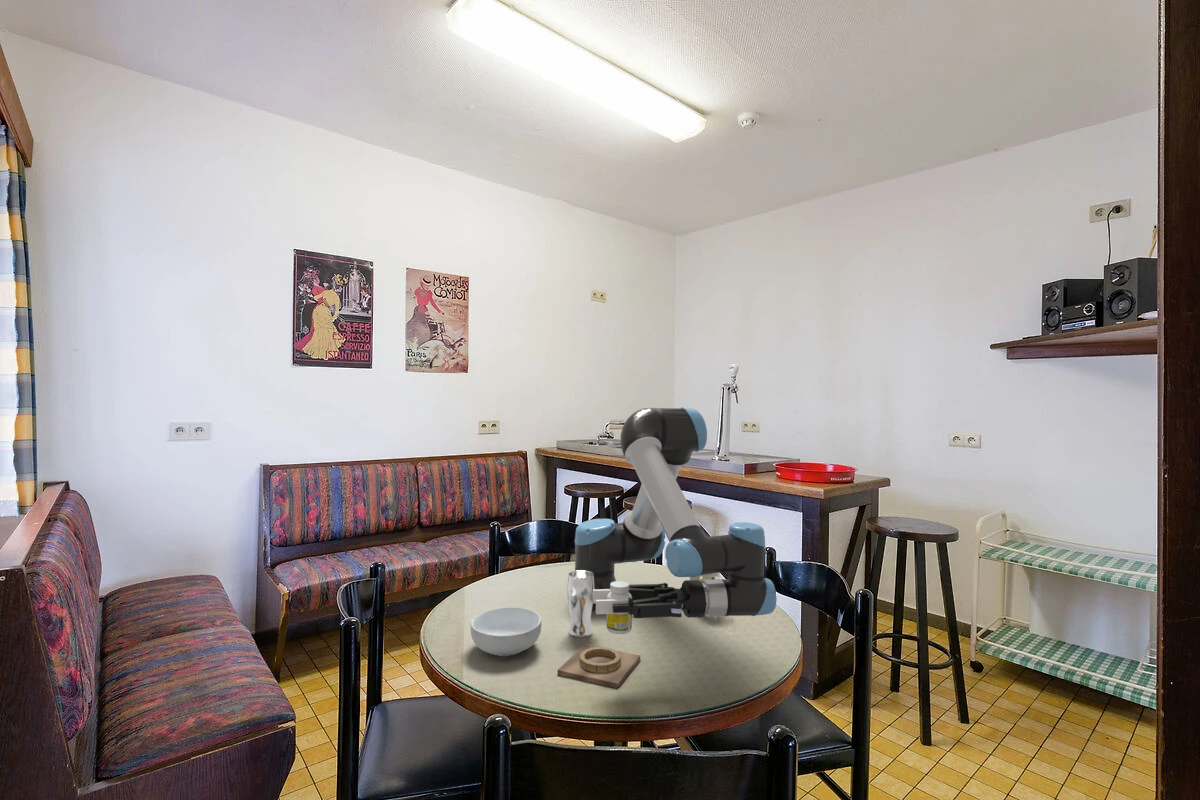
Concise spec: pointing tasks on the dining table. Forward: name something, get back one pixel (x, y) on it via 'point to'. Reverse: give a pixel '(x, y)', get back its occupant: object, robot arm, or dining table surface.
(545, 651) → the dining table surface
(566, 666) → the collar stand
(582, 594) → the silver metal tumbler
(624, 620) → the supplement bottle
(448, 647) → the dining table surface
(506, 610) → the cereal bowl
